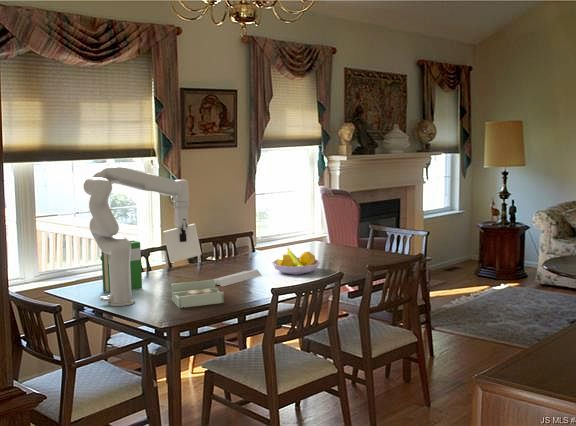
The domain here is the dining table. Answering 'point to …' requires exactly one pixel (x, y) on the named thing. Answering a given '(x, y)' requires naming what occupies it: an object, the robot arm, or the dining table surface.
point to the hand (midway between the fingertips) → (182, 241)
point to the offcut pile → (198, 292)
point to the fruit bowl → (296, 263)
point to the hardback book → (134, 267)
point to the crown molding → (236, 277)
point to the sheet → (182, 244)
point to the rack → (196, 300)
